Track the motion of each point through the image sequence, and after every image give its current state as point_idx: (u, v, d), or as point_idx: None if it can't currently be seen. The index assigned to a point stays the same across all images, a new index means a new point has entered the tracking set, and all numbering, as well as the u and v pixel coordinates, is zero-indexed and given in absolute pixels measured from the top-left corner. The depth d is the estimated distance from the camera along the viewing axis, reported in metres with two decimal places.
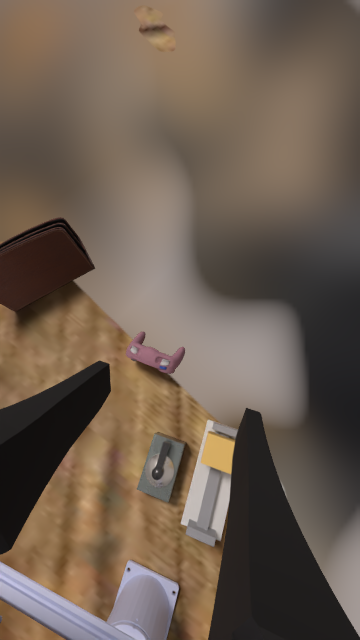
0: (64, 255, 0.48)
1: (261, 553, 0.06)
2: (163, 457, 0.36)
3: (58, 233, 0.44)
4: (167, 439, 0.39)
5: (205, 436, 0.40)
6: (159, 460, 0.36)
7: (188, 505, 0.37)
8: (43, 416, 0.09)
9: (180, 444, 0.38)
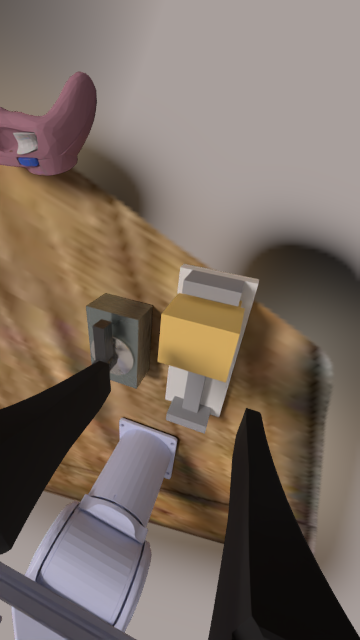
0: None
1: (261, 553, 0.06)
2: (101, 348, 0.20)
3: None
4: (109, 313, 0.21)
5: None
6: (97, 351, 0.21)
7: (170, 383, 0.25)
8: (43, 416, 0.09)
9: (132, 320, 0.20)
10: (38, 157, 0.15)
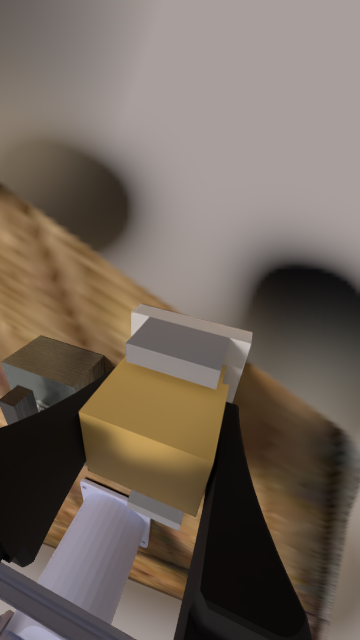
0: None
1: (219, 535, 0.06)
2: None
3: None
4: (32, 374, 0.14)
5: None
6: None
7: None
8: (67, 425, 0.09)
9: (64, 386, 0.14)
10: None
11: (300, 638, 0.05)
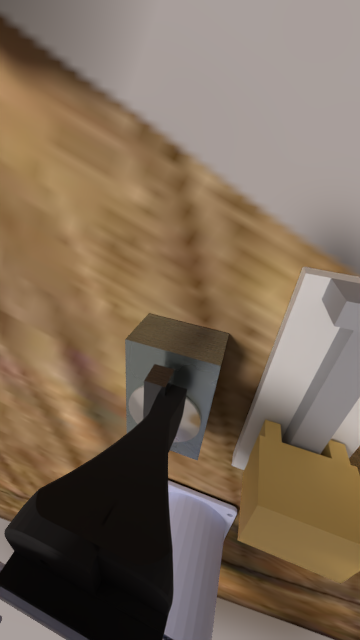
0: None
1: (116, 489, 0.07)
2: None
3: None
4: (166, 352, 0.12)
5: (292, 325, 0.12)
6: None
7: (245, 447, 0.17)
8: (149, 458, 0.08)
9: (208, 365, 0.12)
10: None
11: (155, 566, 0.05)
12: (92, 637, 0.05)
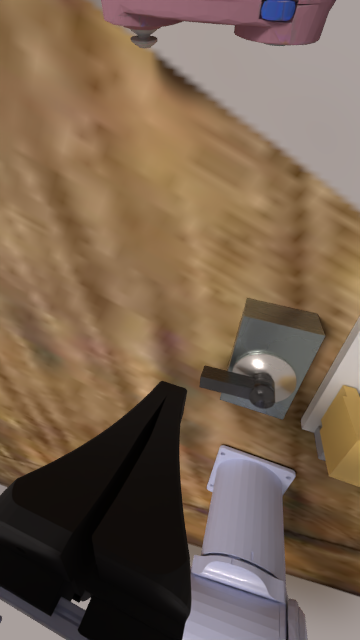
0: None
1: (130, 495, 0.07)
2: (229, 386, 0.17)
3: None
4: (277, 326, 0.16)
5: None
6: (235, 393, 0.17)
7: (318, 411, 0.20)
8: (130, 451, 0.08)
9: (313, 335, 0.15)
10: None
11: (173, 575, 0.05)
12: None
